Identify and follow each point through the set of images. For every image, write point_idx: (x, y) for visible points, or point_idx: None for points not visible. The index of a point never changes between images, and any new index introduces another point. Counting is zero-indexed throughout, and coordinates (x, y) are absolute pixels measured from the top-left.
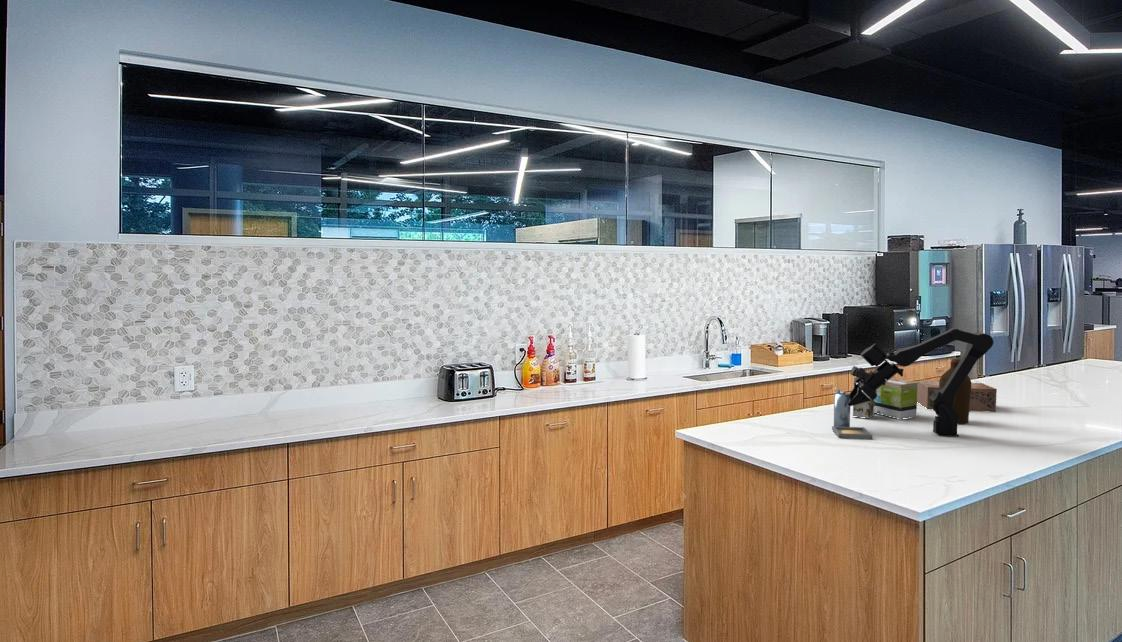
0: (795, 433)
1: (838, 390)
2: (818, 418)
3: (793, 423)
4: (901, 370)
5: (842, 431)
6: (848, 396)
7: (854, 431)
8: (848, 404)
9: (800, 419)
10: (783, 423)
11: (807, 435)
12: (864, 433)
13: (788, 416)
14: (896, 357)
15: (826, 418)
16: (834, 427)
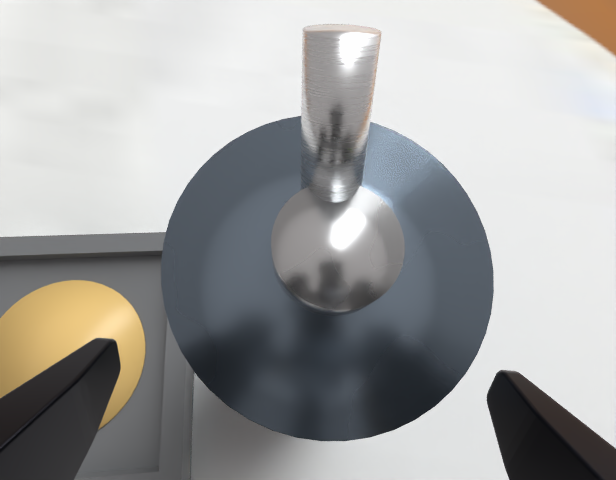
0: (98, 30)
1: (305, 131)
2: (555, 214)
3: None
4: None
5: (92, 292)
6: (197, 365)
7: None
8: (95, 343)
9: (481, 106)
10: (342, 9)
11: (50, 80)
12: None
13: (539, 56)
14: None
15: (578, 267)
16: (153, 242)
